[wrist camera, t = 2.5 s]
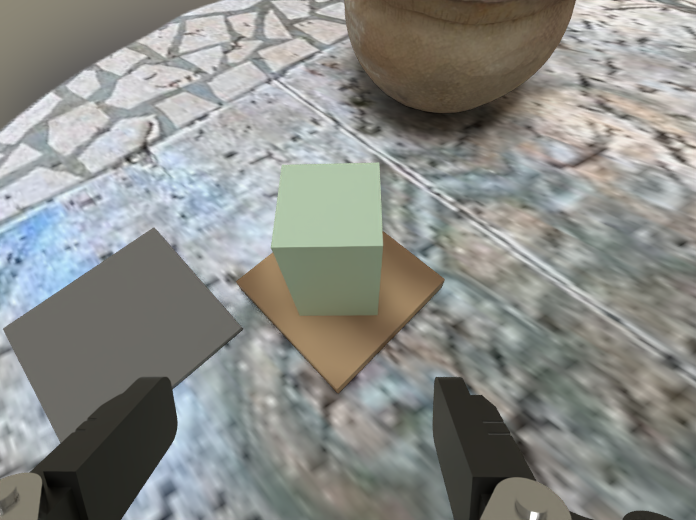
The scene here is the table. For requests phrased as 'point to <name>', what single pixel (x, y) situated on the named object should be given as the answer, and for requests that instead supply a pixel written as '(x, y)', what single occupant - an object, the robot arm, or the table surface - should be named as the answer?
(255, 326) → the table surface
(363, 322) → the peg stand
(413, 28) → the ceramic bowl
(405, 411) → the table surface
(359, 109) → the table surface
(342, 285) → the sage green tall block
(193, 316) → the mat
